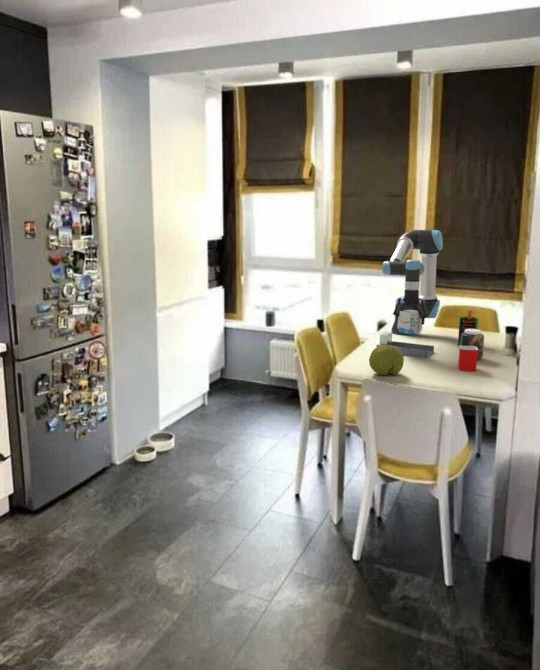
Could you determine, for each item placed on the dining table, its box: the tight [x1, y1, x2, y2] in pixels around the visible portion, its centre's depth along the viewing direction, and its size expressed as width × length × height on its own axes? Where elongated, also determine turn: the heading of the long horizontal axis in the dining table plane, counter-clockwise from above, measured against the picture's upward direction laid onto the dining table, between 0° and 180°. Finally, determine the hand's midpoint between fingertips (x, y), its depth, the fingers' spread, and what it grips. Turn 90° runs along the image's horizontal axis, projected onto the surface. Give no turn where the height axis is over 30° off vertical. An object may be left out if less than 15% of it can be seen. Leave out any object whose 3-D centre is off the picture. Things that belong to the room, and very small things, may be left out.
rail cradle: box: [375, 331, 435, 359], centre depth 314 cm, size 14×28×9 cm, turn 60°
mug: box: [457, 345, 478, 372], centre depth 282 cm, size 12×8×11 cm
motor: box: [457, 309, 479, 346], centre depth 330 cm, size 10×9×20 cm
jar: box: [459, 329, 485, 362], centre depth 300 cm, size 12×12×15 cm
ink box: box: [399, 310, 422, 335], centre depth 310 cm, size 8×8×12 cm
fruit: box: [368, 345, 405, 376], centre depth 271 cm, size 16×14×15 cm
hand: (409, 329), depth 311 cm, fingers closed on ink box, 11 cm apart
